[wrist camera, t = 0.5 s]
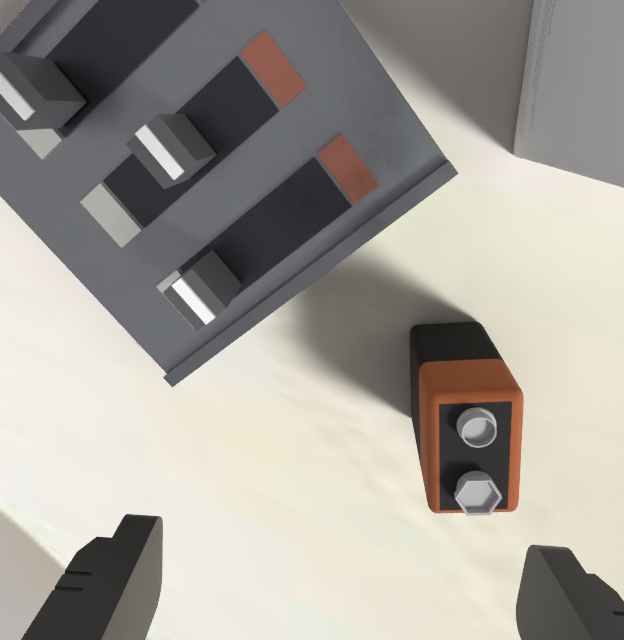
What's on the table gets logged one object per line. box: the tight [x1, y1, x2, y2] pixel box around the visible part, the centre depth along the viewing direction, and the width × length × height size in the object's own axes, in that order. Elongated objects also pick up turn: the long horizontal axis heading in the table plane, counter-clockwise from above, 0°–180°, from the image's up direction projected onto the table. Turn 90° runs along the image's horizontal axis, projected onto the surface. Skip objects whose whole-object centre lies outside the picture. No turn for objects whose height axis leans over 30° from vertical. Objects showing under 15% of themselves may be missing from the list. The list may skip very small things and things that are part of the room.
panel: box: [0, 0, 458, 387], centre depth 30 cm, size 20×19×3 cm
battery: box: [410, 322, 523, 515], centre depth 30 cm, size 4×7×10 cm, turn 5°
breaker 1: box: [0, 51, 86, 131], centre depth 26 cm, size 2×2×4 cm
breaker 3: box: [163, 250, 242, 331], centre depth 29 cm, size 2×2×4 cm
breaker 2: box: [126, 114, 217, 189], centre depth 27 cm, size 2×2×4 cm
